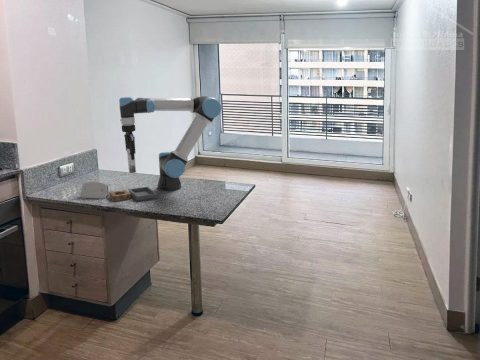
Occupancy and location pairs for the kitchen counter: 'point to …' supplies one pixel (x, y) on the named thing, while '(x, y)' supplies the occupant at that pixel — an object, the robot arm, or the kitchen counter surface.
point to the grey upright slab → (94, 190)
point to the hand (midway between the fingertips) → (131, 164)
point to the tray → (143, 194)
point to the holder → (119, 195)
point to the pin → (131, 167)
